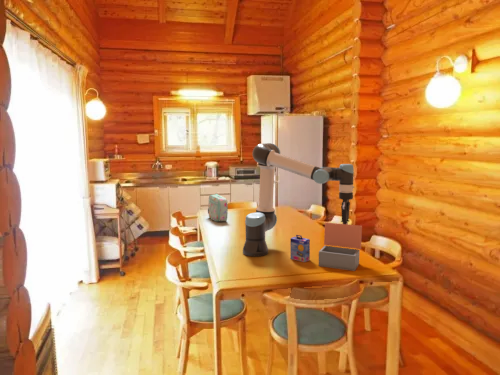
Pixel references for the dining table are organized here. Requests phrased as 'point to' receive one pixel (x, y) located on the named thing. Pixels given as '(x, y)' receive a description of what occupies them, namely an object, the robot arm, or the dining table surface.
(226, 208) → the lunch box
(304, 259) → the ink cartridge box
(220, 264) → the dining table surface
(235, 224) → the dining table surface
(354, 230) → the lid
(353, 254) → the box
